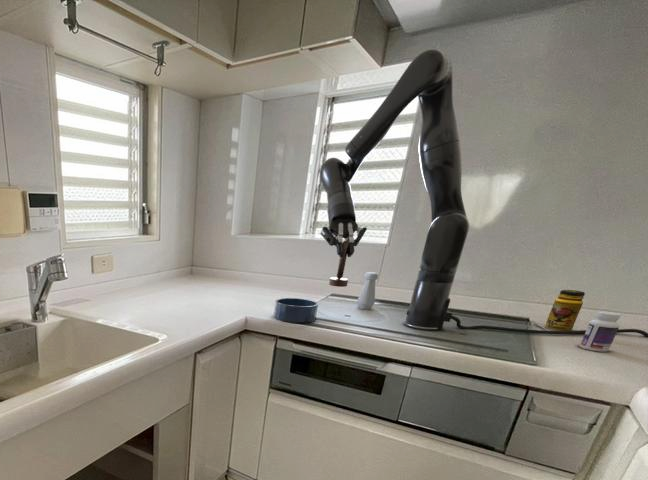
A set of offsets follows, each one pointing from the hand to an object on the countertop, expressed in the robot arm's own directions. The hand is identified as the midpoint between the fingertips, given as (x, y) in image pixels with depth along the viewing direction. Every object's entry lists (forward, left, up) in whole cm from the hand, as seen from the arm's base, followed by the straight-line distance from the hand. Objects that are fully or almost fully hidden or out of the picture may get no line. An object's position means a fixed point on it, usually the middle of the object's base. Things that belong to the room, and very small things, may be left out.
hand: (346, 255), depth 120 cm
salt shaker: (-12, -30, -21) cm, 39 cm away
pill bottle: (-64, 0, -21) cm, 68 cm away
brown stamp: (0, -2, -9) cm, 10 cm away
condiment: (-65, -21, -21) cm, 72 cm away
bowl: (+12, -3, -21) cm, 25 cm away
